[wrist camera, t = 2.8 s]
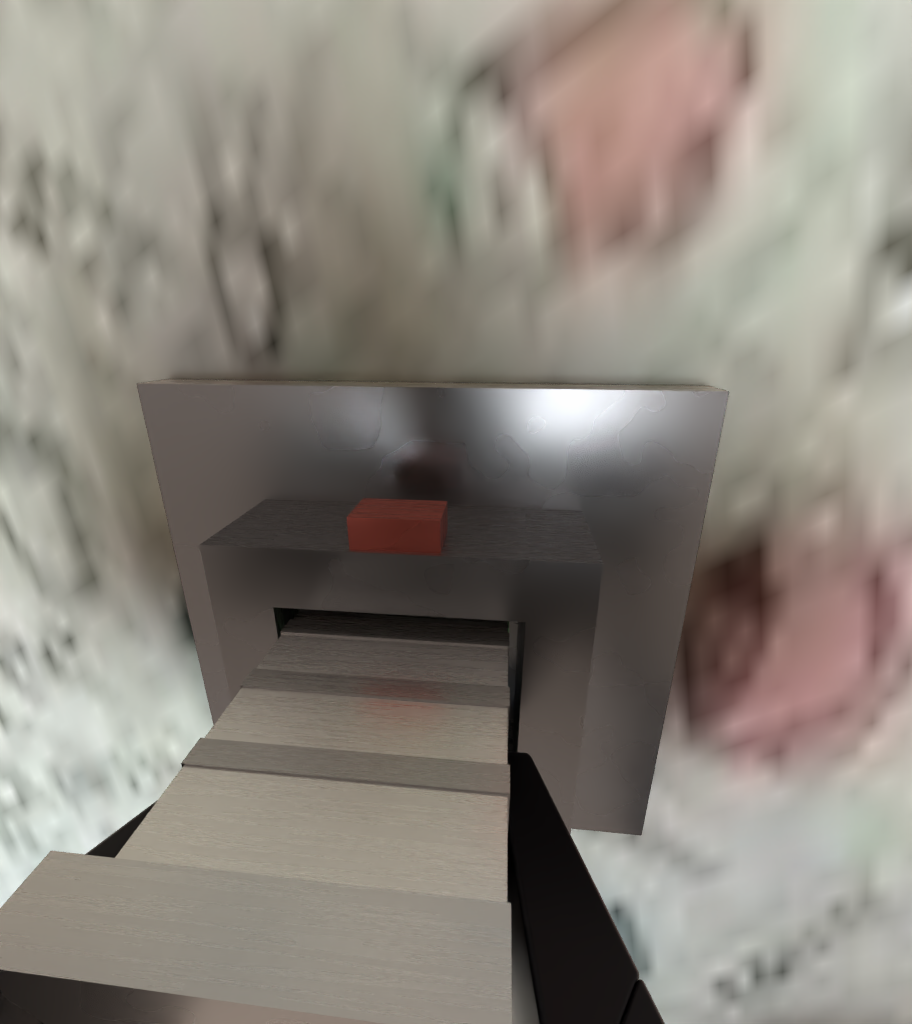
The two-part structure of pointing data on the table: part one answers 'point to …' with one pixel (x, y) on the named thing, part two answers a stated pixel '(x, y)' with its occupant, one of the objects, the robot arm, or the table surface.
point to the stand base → (456, 540)
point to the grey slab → (301, 851)
